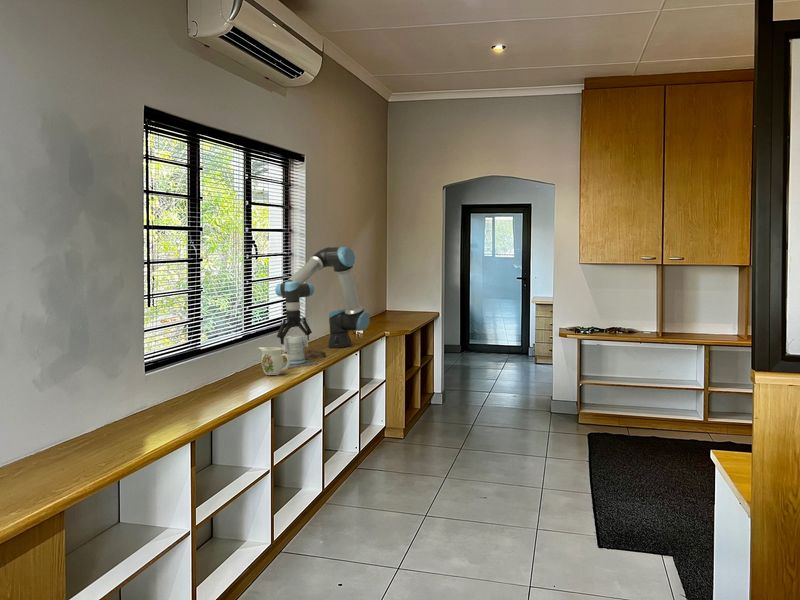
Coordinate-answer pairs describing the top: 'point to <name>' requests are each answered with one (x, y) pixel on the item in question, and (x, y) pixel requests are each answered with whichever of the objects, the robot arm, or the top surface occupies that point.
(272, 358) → the pitcher
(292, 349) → the supplement tub
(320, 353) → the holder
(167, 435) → the top surface
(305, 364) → the pad
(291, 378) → the top surface
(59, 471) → the top surface
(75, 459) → the top surface
